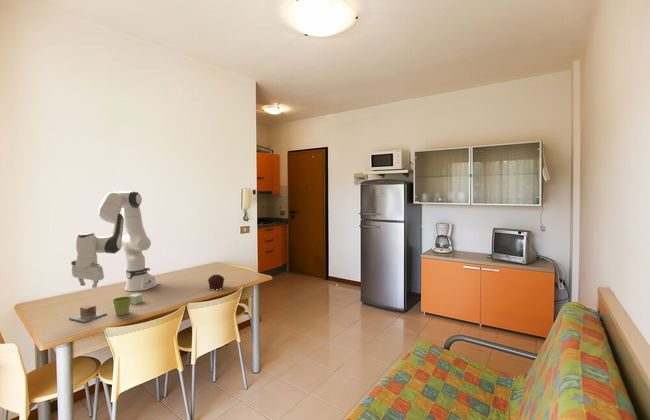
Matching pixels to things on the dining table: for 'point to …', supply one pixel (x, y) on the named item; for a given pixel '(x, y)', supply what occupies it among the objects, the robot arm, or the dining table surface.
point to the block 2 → (136, 298)
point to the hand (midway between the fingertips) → (88, 286)
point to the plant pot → (122, 305)
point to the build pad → (84, 319)
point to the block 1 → (87, 310)
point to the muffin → (216, 282)
